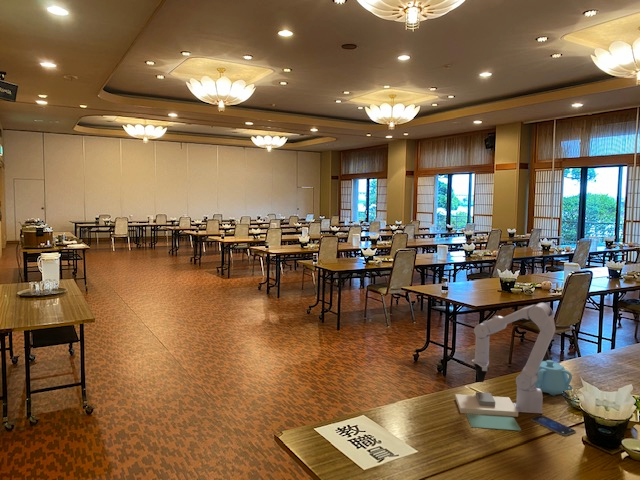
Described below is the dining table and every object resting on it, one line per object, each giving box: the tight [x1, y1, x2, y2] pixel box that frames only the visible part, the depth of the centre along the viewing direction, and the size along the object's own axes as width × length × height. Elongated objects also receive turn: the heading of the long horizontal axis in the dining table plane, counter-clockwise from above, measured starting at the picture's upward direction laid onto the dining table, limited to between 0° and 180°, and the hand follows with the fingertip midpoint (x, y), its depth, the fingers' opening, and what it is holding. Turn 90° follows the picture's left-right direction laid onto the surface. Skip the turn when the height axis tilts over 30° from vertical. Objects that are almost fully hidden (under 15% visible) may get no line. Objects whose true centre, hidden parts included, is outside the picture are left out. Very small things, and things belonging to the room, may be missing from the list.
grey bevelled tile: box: [475, 391, 495, 407], centre depth 199 cm, size 6×9×2 cm, turn 173°
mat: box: [465, 413, 522, 432], centre depth 185 cm, size 18×11×1 cm, turn 83°
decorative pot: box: [535, 359, 573, 396], centre depth 216 cm, size 16×16×14 cm
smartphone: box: [530, 414, 577, 437], centre depth 183 cm, size 7×1×15 cm
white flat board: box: [454, 393, 519, 418], centre depth 198 cm, size 22×14×2 cm, turn 83°
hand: (480, 381), depth 209 cm, fingers closed
